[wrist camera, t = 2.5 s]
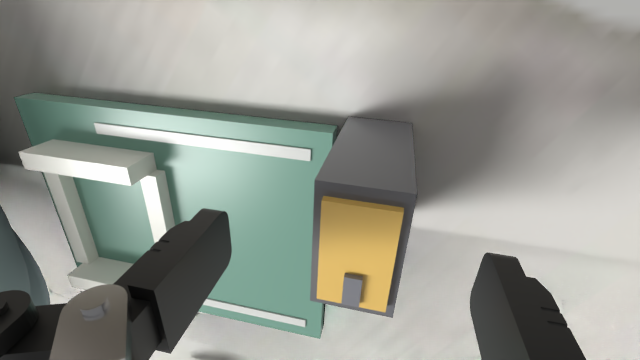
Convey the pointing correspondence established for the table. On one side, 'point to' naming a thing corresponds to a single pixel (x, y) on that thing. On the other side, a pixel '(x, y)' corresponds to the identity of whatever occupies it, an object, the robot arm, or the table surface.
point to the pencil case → (19, 266)
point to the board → (185, 195)
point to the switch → (363, 216)
